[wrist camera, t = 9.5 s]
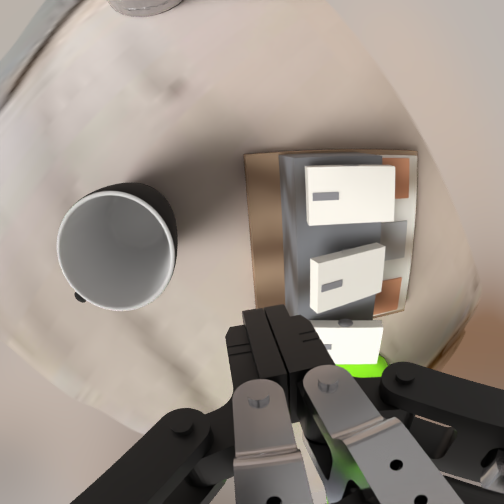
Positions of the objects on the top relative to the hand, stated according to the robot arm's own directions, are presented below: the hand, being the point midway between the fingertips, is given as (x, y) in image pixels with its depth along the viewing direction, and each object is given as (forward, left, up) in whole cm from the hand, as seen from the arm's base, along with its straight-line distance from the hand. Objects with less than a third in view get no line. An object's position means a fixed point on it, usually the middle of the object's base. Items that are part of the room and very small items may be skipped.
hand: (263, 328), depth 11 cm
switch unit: (+5, +12, -21) cm, 24 cm away
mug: (+1, -10, -21) cm, 23 cm away
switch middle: (+5, +9, -13) cm, 16 cm away
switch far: (+12, +9, -13) cm, 20 cm away
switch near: (-2, +9, -13) cm, 16 cm away
